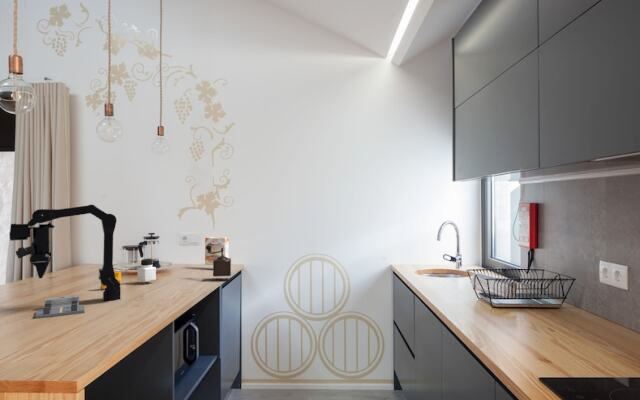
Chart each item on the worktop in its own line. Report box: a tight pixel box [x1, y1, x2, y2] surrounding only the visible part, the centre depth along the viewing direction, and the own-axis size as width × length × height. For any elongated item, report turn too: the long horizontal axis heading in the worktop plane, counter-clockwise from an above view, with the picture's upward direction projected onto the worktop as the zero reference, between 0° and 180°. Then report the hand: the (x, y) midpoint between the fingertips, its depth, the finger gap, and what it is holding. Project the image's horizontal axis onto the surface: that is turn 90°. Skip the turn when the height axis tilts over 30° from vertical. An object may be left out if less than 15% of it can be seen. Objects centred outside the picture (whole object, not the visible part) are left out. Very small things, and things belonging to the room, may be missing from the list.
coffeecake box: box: [204, 236, 230, 266], centre depth 280 cm, size 15×7×20 cm, turn 81°
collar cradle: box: [34, 300, 85, 320], centre depth 157 cm, size 16×10×4 cm, turn 121°
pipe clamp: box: [100, 271, 122, 290], centre depth 208 cm, size 12×4×6 cm, turn 169°
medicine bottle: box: [137, 258, 157, 283], centre depth 224 cm, size 7×7×12 cm
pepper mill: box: [206, 245, 232, 278], centre depth 240 cm, size 16×11×18 cm
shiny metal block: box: [44, 294, 80, 308], centre depth 167 cm, size 12×4×4 cm, turn 123°
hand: (41, 276), depth 165 cm, fingers open, 9 cm apart
